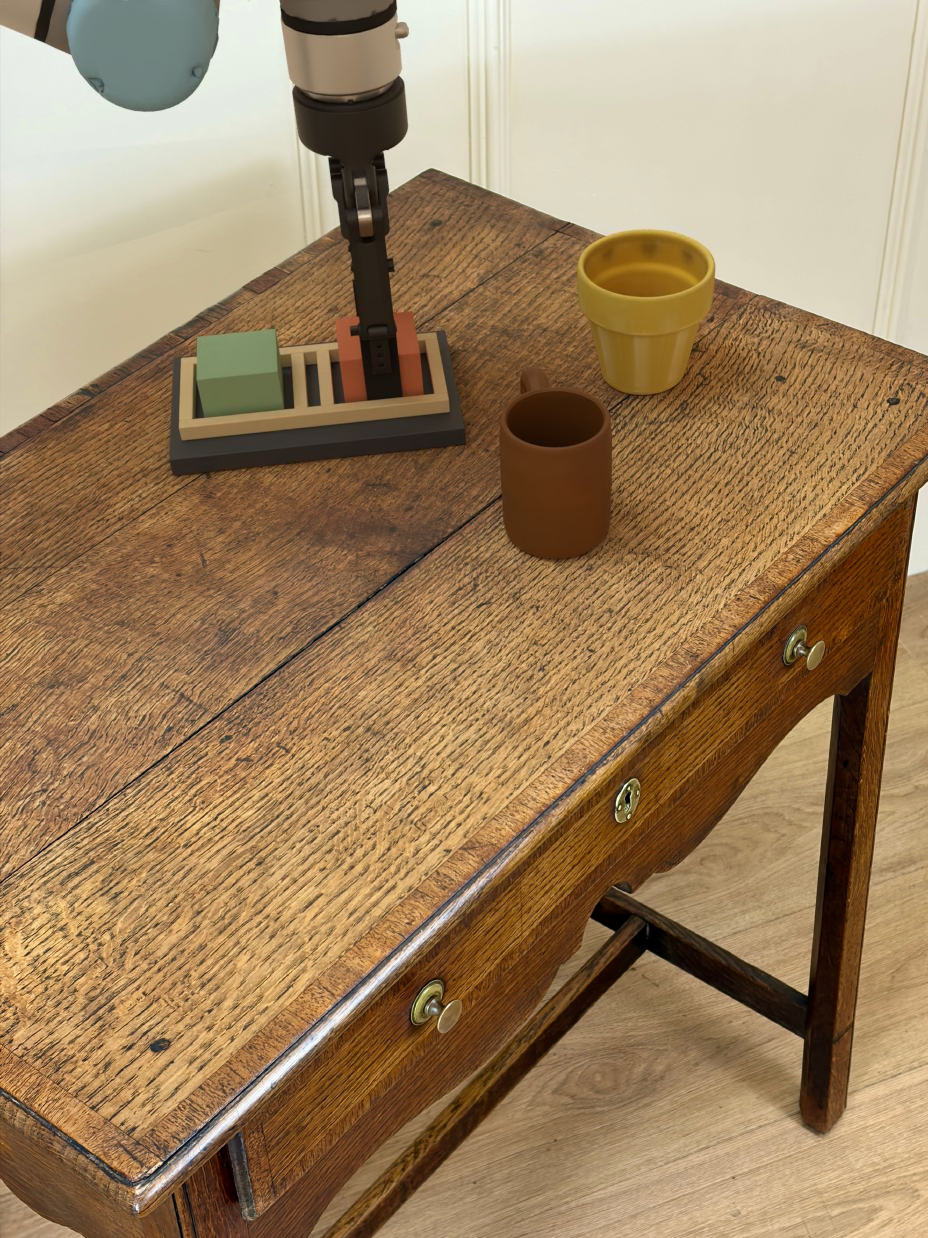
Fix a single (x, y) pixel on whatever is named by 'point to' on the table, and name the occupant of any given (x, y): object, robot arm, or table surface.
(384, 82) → the robot arm
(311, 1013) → the table surface
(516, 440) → the mug
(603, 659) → the table surface
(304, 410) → the backing plate
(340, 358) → the terracotta cube
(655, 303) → the flower pot
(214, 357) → the green block
